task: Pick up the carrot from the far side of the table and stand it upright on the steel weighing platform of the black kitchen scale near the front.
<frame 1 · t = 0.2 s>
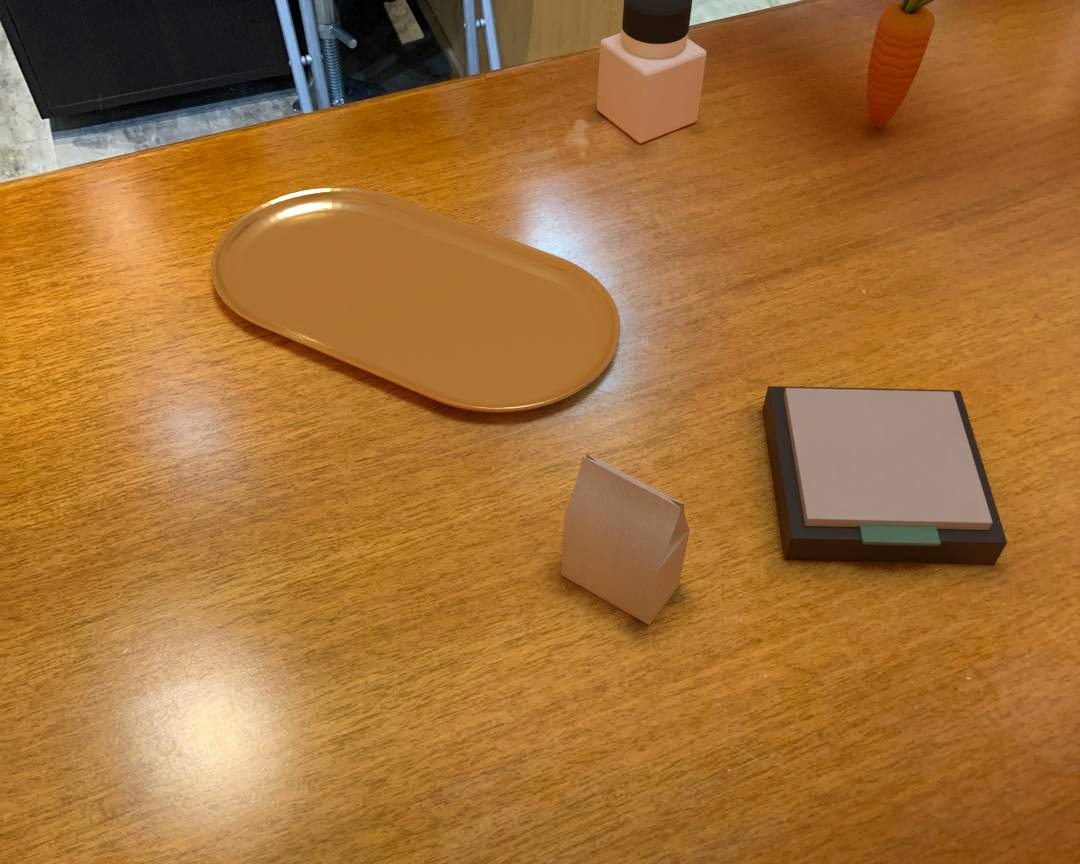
serving platter: (412, 305, 87), on the table
carrot: (876, 129, 104), on the table
kitchen scale: (872, 482, 76), on the table
brown paper bag: (619, 582, 71), on the table
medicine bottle: (646, 118, 105), on the table
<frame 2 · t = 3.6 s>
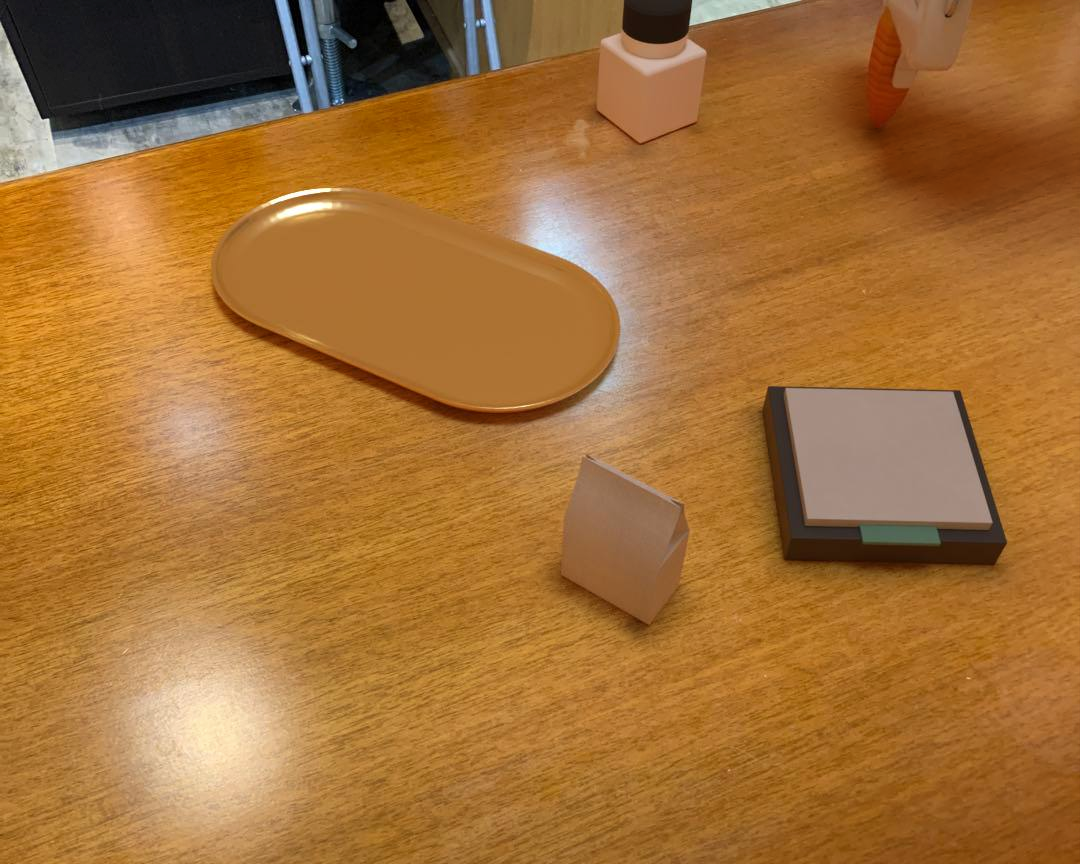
hand: (893, 65, 99), 6 cm above the table, tool pointing down, fingers closed on carrot, 5 cm apart
carrot: (875, 129, 104), on the table, touching gripper
everything else where it was.
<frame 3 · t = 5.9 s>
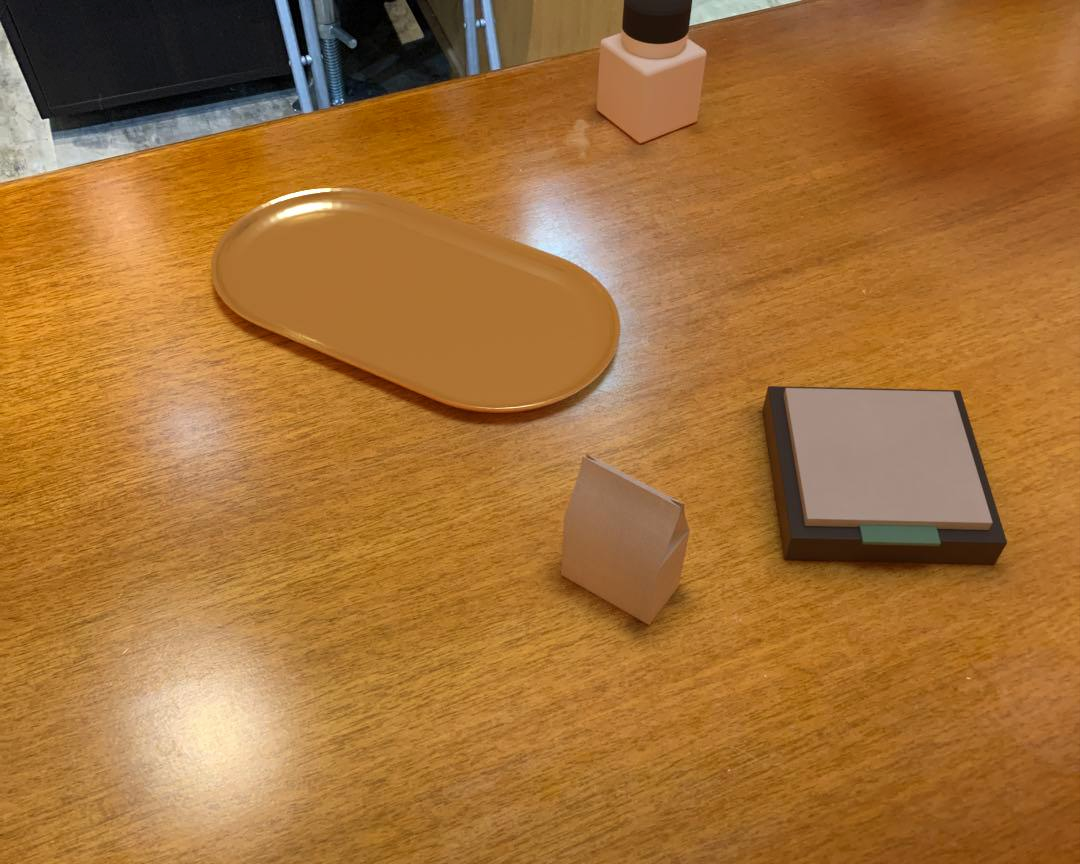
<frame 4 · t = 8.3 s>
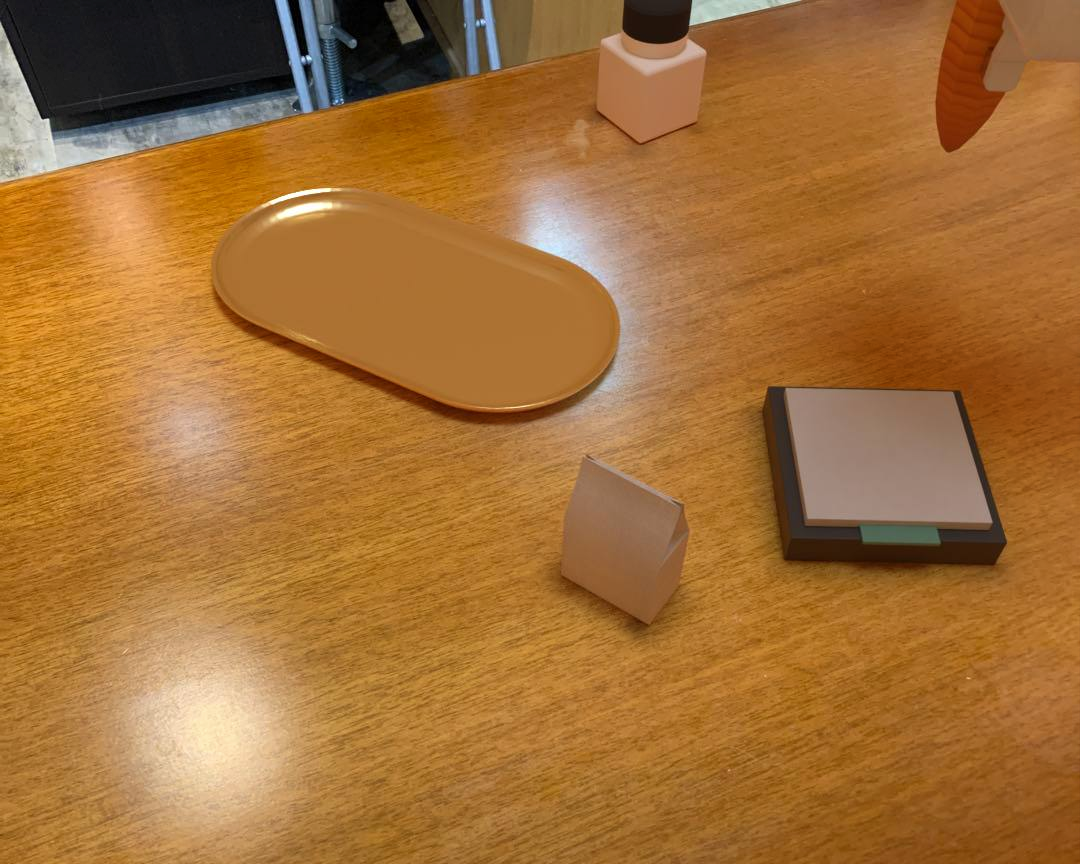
hand: (983, 56, 62), 26 cm above the table, tool pointing down, fingers closed on carrot, 5 cm apart
carrot: (947, 154, 67), point 19 cm above the table, touching gripper
everything else where it was.
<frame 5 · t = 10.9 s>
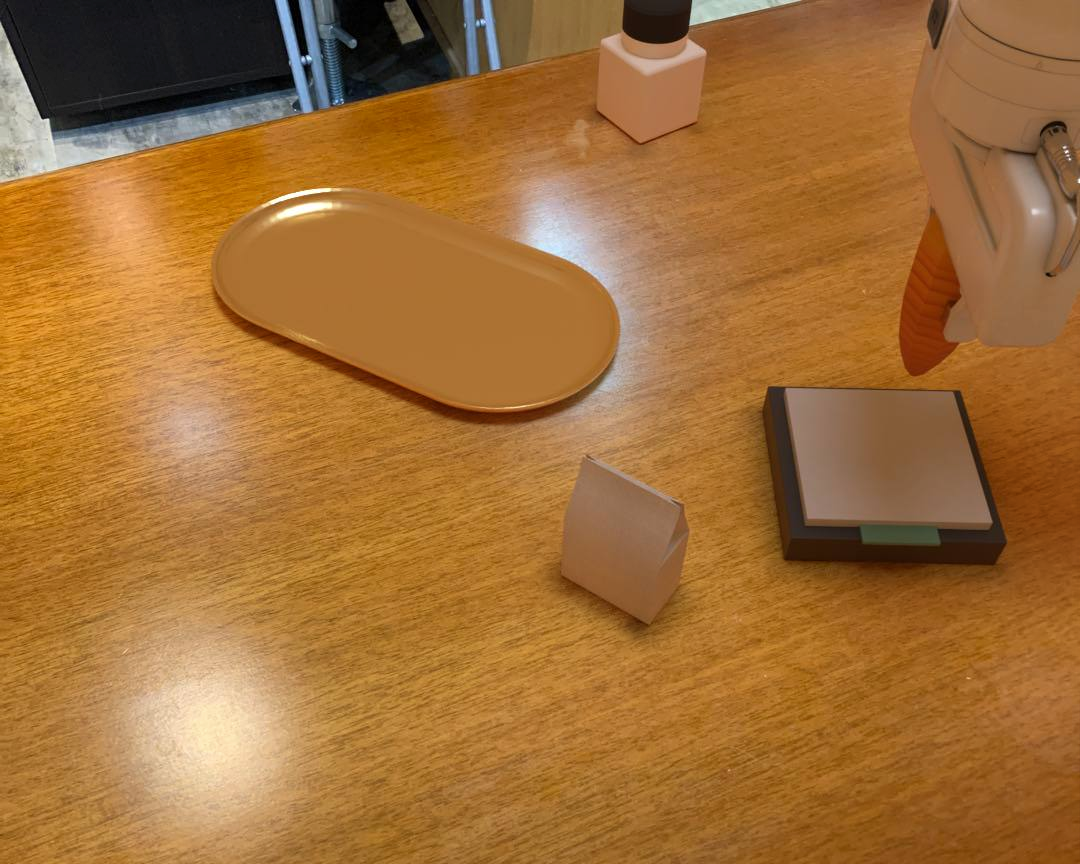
hand: (944, 297, 63), 16 cm above the table, tool pointing down, fingers closed on carrot, 5 cm apart
carrot: (912, 377, 68), point 10 cm above the table, touching gripper
everything else where it was.
when the fingers open (9 cm above the table, at t = 13.1 s): carrot stays where it is, resting on kitchen scale.
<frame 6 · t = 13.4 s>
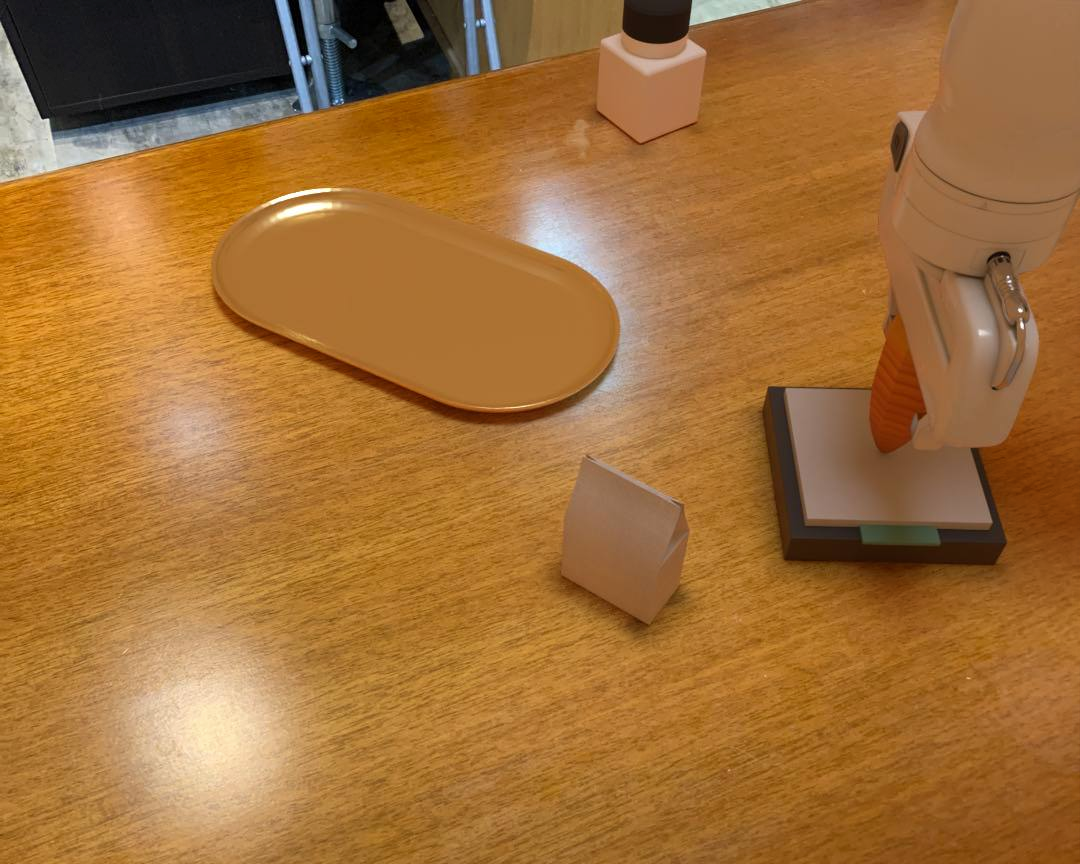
hand: (909, 387, 69), 9 cm above the table, tool pointing down, fingers open, 8 cm apart
carrot: (882, 453, 74), point 3 cm above the table, touching kitchen scale
everything else where it was.
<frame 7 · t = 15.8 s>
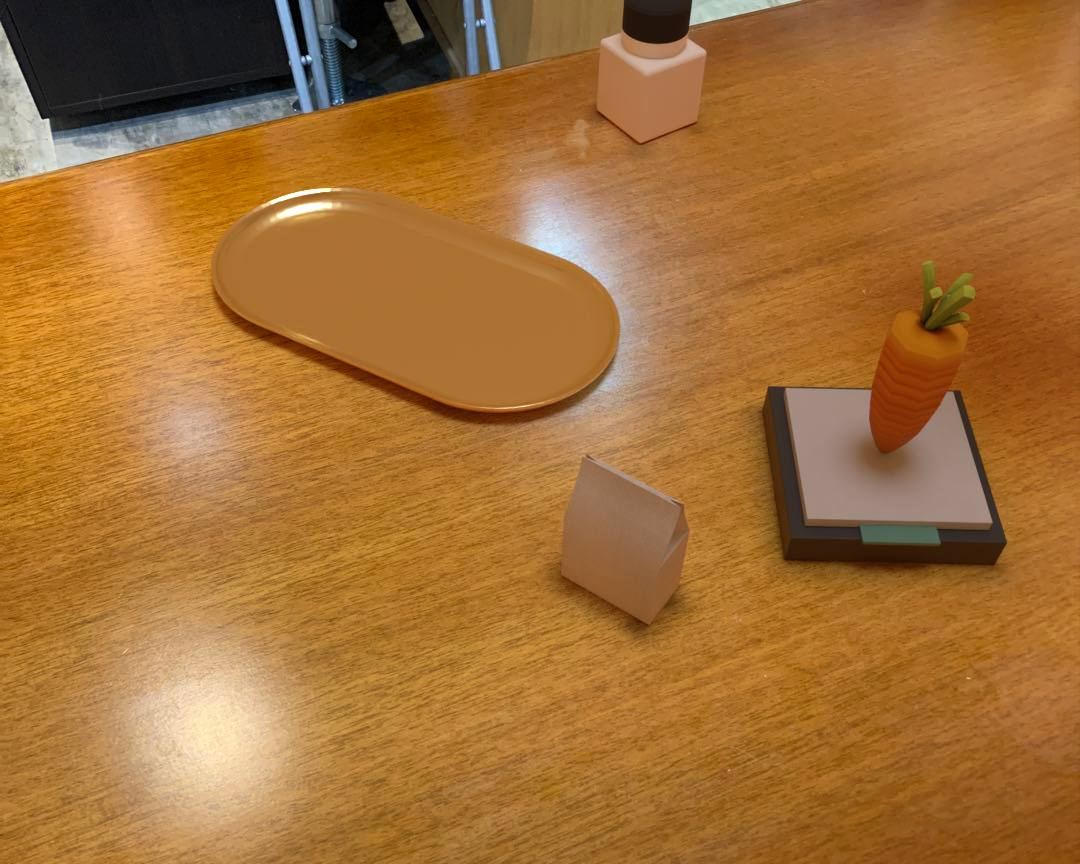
nothing on the table moved.
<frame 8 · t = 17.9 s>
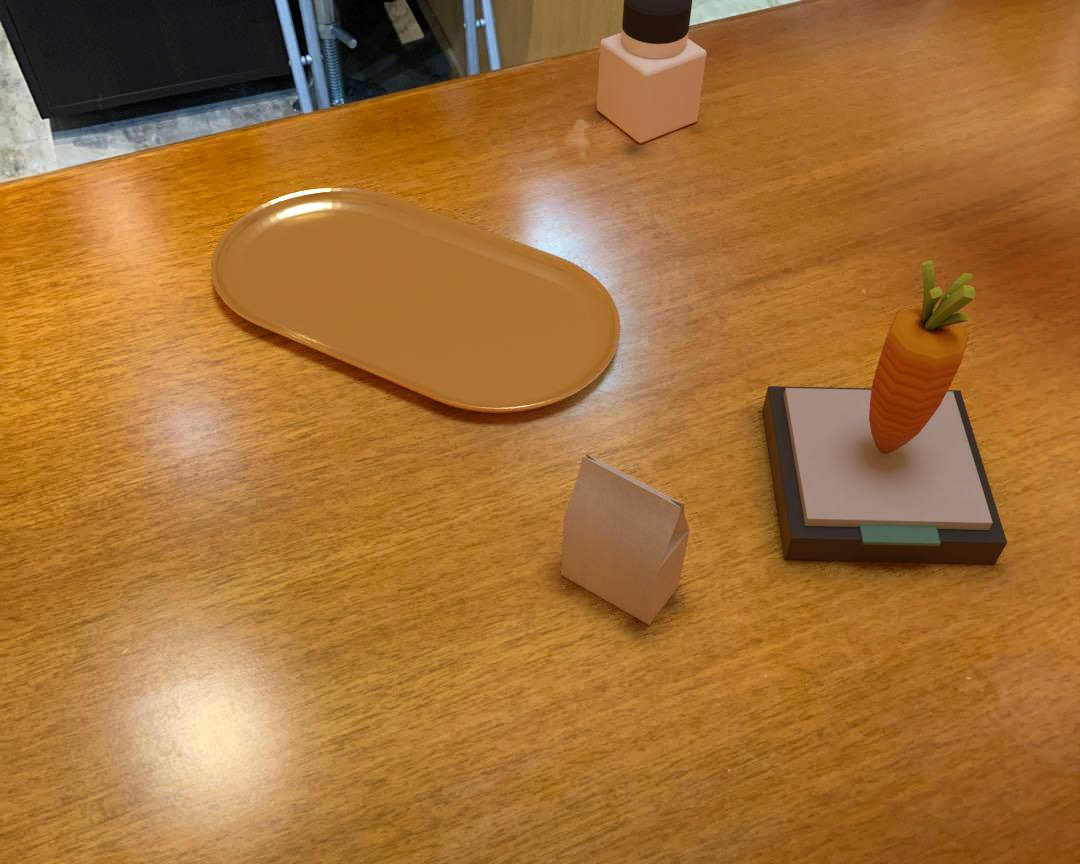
nothing on the table moved.
at the end: carrot inside the target area on the kitchen scale (0.0 cm from its centre), point 3.0 cm above the kitchen scale's base; carrot tilted 0°; the gripper is holding nothing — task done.
